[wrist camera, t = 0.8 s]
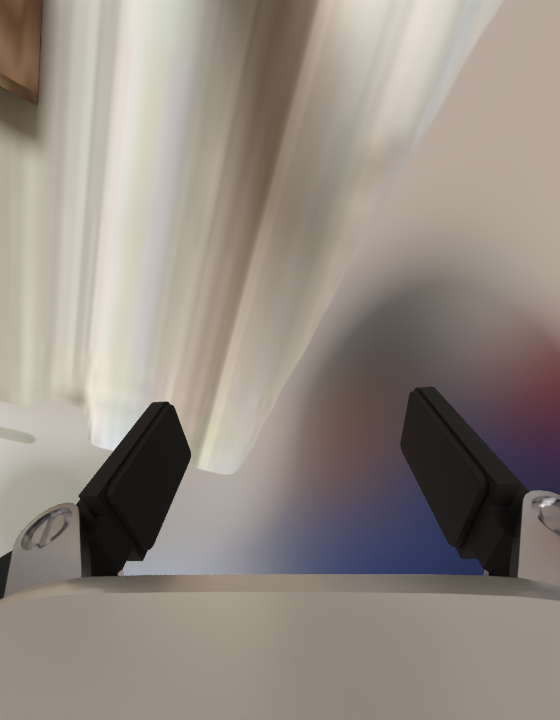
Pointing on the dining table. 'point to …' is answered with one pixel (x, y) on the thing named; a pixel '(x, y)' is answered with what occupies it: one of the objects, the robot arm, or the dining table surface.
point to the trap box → (20, 47)
